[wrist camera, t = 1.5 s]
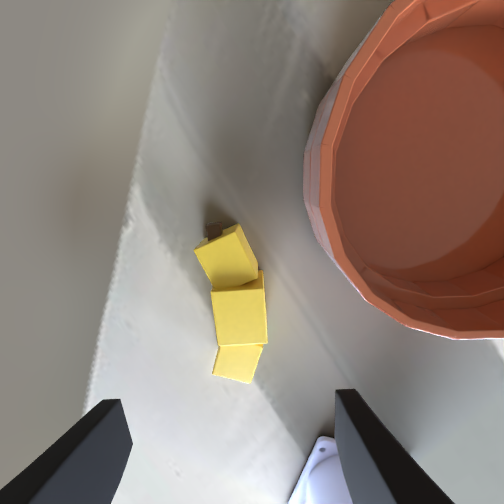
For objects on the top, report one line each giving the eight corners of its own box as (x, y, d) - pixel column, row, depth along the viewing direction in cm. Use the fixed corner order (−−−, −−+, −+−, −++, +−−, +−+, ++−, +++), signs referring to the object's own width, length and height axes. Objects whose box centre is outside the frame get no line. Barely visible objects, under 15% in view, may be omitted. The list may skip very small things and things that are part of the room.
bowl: (493, 320, 18) (579, 373, 13) (269, 259, 17) (272, 291, 12) (654, 56, 13) (875, -11, 9) (361, -41, 13) (423, -173, 8)
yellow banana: (269, 356, 19) (271, 388, 16) (219, 359, 19) (212, 390, 16) (258, 215, 16) (258, 224, 13) (200, 220, 16) (188, 229, 14)
